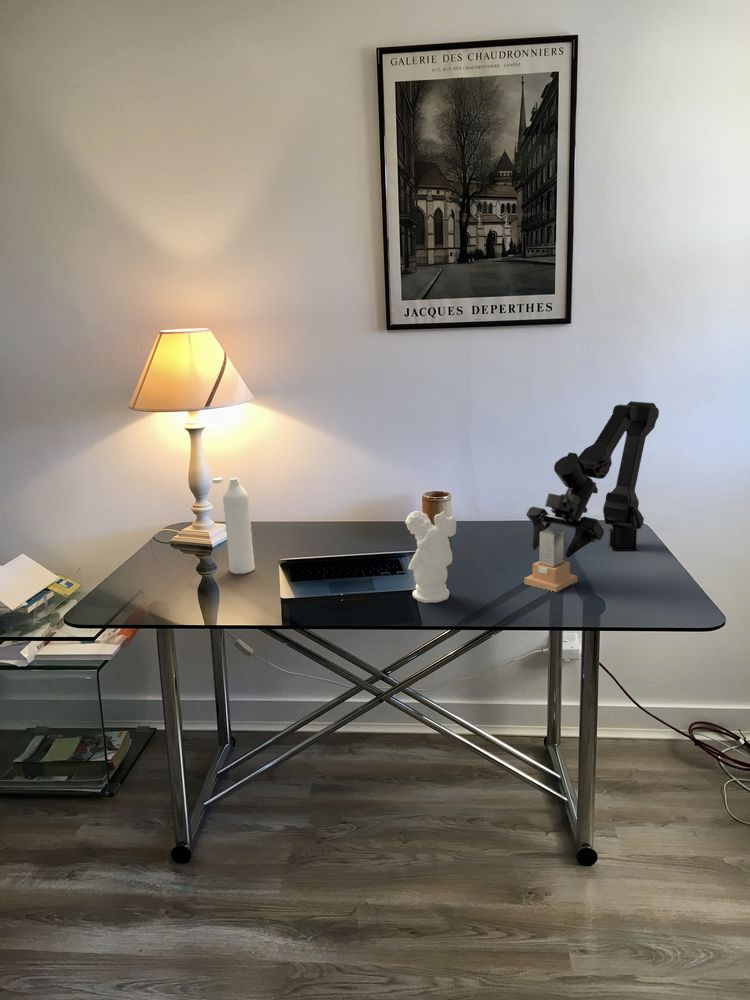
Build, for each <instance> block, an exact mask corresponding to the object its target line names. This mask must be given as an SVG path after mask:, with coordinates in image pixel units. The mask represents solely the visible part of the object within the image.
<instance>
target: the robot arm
mask: <svg viewBox="0 0 750 1000" xmlns="http://www.w3.org/2000/svg"><path fill="white" fill-rule="evenodd" d="M659 415H660V410H659V407H657V405H656V404H655V403H654V402H645V401H644V402H643V401H629V402H628V403H627V404H617V405H615V406H614V407H613V410H612V413H611V416H610V417H609V419H608V420H607V422H606V424H605V425H604V427H603V429H602V430H601V432H600V434H599V435H598V437H597V439H596V440H595V441H594V443H593V444H590V445H589V446H588V447H586V448H585V449H583V451H582V452H581V453H580V454H579V456H578V454H577V452H576V453H575V452H568V454H567V455H565V456H563V457H560V459H558V460H557V461H556V462H555V463H554V467H553V471H554V472H555V474H556V475H557V477H558V479H560V481H561V482H562V484H563V485H564V487H566V488H567V490H566V492H565V494H564V493H562V494H554V493H548V495H547V498H546V502H545V505H544V506H545V507H546V508H548V507H549V508H551V510H550V511H551V512H552V514H554V515H551V514H549V513H548V511H547V510H546V509H545V508H542V507H536V506H531V507H529V509H528V510H527V512H526V514H525V515H526V517H527V518H528V519H529V520H530V522H531V524H533V535H532V536H533V538H532V550H535V551H536V550H537V549H538V548H539V547H540V532H541V531H543V530H546V529H548V528H551V527H550V526H551V525H552V524H553V525H556V526H560V527H567V528H570V529H575V531H574V536H573V538H572V540H571V542H570V544H569V545H568V547H567V549H566V552H565V555H564V556H565V557H566V558H567V559H569V558H570V557H572V556H573V555H574V554H575V553H576V552H578V551H579V550H580V549H582V548H584V547H586V546H587V545H589V544H590V543H595V541H596V540H597V541H601V540H602V538H603V536H604V534H605V531H604V528H603V526H602V525H601V524H600V522H599V520H598V519H596V518H594V517H586V516H583V514H586V513H587V512H588V510H589V509H588V508H587V505H588V504H589V501H590V499H591V497H592V495H593V494H598V493H599V492H598V491H599V490H598V488H597V482H595V481H593V479H598V480H602V479H604V478H605V477H607V475H608V474H609V472H610V468H611V466H612V465H613V464H612V463H613V461H612V454H613V452H614V450H615V449H616V447H617V446H618V444H619V442H620V441H621V439H622V437H624V435H625V432H626V435H625V440H624V445H623V450H622V455H621V461H620V465H619V470H618V474H617V480H616V483H615V488H614V489H612V491H611V492H610V491H608V492H607V493H606V495H605V500H604V504H603V508H602V513H603V519H604V523H605V525H609V526H610V528H609V529H608V531H607V532H608V533H607V536H608V537H607V539H608V540H607V544H608V546H609V547H610V548H611V549H612V551H639V550H638V549H639V548H638V546H637V536H638V535H637V534H638V530H640V529H642V527H643V525H644V520H645V518H644V516H643V514H642V513H641V511H640V510H639V503H640V502H639V498H638V495H637V494H636V486H637V481H638V477H639V471H640V466H641V463H642V462H641V461H642V457H643V452H644V447H645V442H646V439H647V438H646V437H648V435H649V434H650V433H651V432H652V431H653V430H654V428H655V427H656V423H657V420H658V419H659Z"/></svg>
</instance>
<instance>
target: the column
mask: <svg viewBox="0 0 750 1000" xmlns="http://www.w3.org/2000/svg"><path fill="white" fill-rule="evenodd" d="M564 533H565V531H564V530H560V529H556V528H552V527H548V528H547V529H546V530H543V531H541V532H540V545H539V552H538V553H539V557H538V558H539V559H538V561H539V564H540V565H544V566H548V567H551V568H555V567H558V566H560V565H562V564H563V561H564V537H565V534H564Z"/></svg>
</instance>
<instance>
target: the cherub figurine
mask: <svg viewBox="0 0 750 1000" xmlns="http://www.w3.org/2000/svg"><path fill="white" fill-rule="evenodd" d="M433 521H434V524H433V523H431V522H432V521H431V519H430V517H429V516H428V514H427V513H425V512H423V511H422V510H420V511H419V510H414V511H412V512H410V513H409V514H408V515H407V518H406V519H405V522H404V523H405V525H406V528H407V530H408V531H409V533H410V534H411V535H414V538H415V540H416V546H417V548H416V550H415V553H414V554H413V557H412V558H411V560H410V562H409V564H408V567H407V570H409V571H413V579H414V581H415V583H416V584H415V589H416V590H415V589H414V590H413V591H412V597H413V598H414V599H415V600H416V601H418V602H420V603H426V604H428V603H436V604H437V603H440V602H442V601H443V602H444V601H445V600H448V599H449V598H450V597H449V596H450V590H449V589H448V588H447V584H446V582H447V579H448V568H447V567H448V566H450V565H451V564H452V562H453V552H452V549H451V546H450V539H449V537H450V538H451V537H453V536H454V535H456V533H457V532H456V531H457V518H456V517H455V516H452V515H451V516H450V517H449V516H447V514H446V511H445V510H443V511H441V512H440V513H439V514H437V513H436V515H435V516H434V517H433Z"/></svg>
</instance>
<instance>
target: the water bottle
mask: <svg viewBox="0 0 750 1000" xmlns="http://www.w3.org/2000/svg"><path fill="white" fill-rule="evenodd" d="M222 483H224V482H223V478H222V477H214V478H212V484H222ZM222 502H223V509H224V511H223V513H224V522H225V532H226V542H227V543H226V544H227V554H228V561H229V564H228V565H229V566H228V567H229V572H231V574H235V575H240V574H241V575H242V574H247V573H251V572H252V571H254V570H255V566H256V565H255V558H254V557H255V556H254V547H253V535H252V534H253V533H252V525H251V524H252V523H251V514H250V513H251V512H250V505H249V504H250V502H249V494H248V492H247V491H246V490H245V488H244V487H243V486H242V485H241V484H240V479H239V477H231V478H229V482H228V486H227V488H226V490H225V491H224V493H223V498H222Z"/></svg>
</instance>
